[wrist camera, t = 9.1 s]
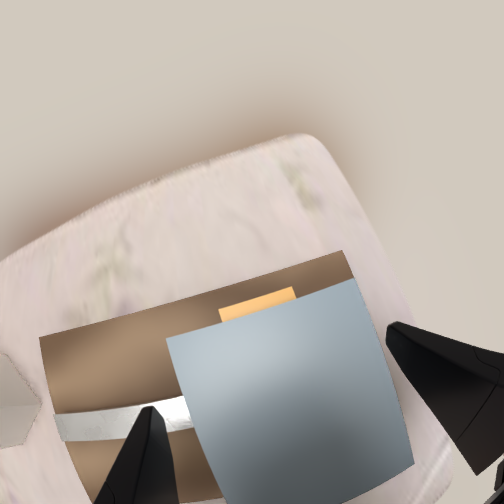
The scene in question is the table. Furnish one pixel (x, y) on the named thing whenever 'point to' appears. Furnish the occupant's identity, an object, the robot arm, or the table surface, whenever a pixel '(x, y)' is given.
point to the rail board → (150, 375)
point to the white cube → (15, 405)
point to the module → (293, 398)
